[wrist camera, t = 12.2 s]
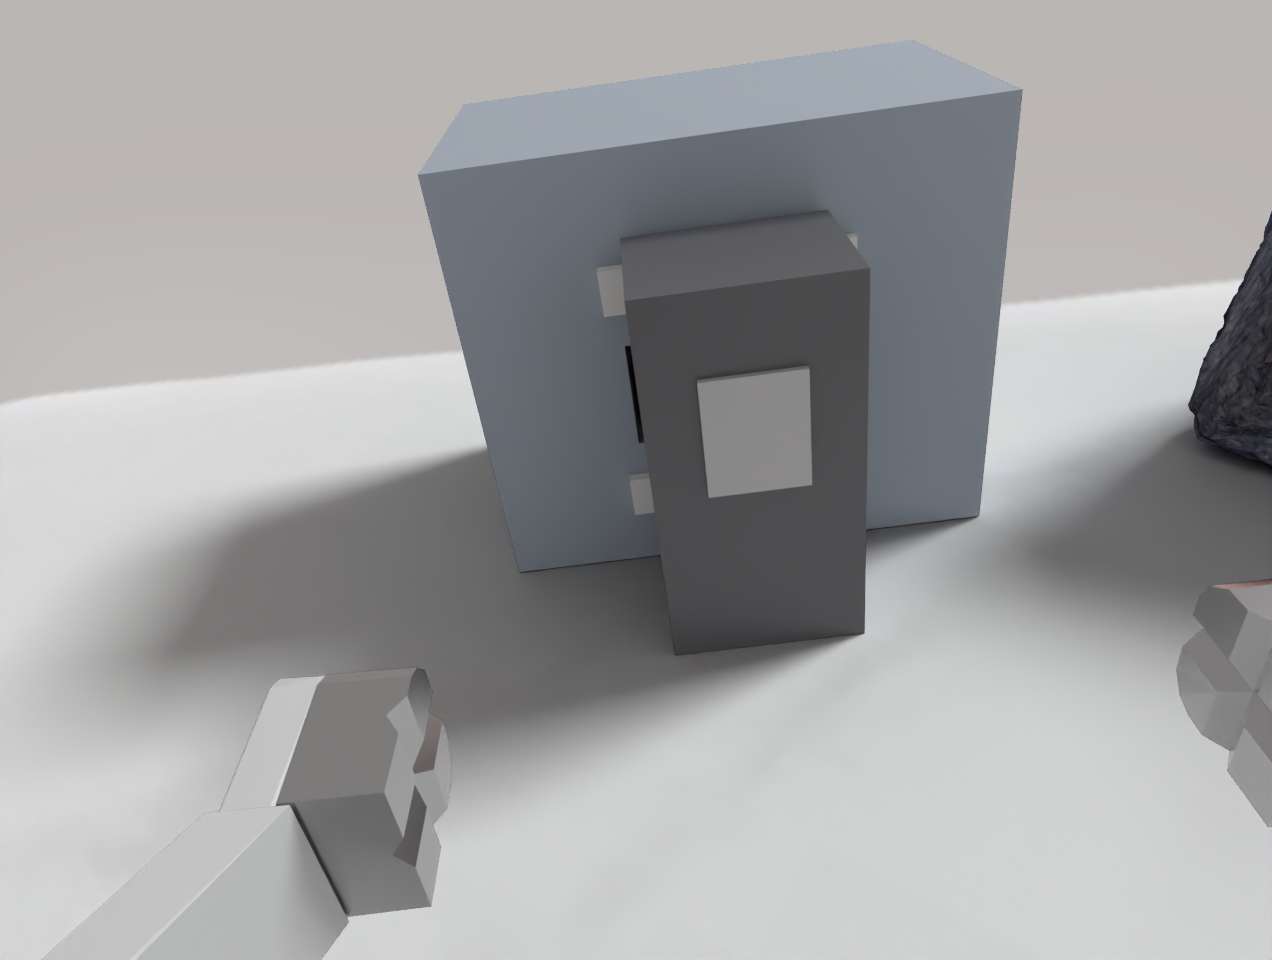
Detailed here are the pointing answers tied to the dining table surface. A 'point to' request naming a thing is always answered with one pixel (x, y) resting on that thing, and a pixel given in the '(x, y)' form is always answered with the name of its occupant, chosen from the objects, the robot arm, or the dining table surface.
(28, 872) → the dining table surface
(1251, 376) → the stone
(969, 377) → the socket
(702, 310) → the plug
